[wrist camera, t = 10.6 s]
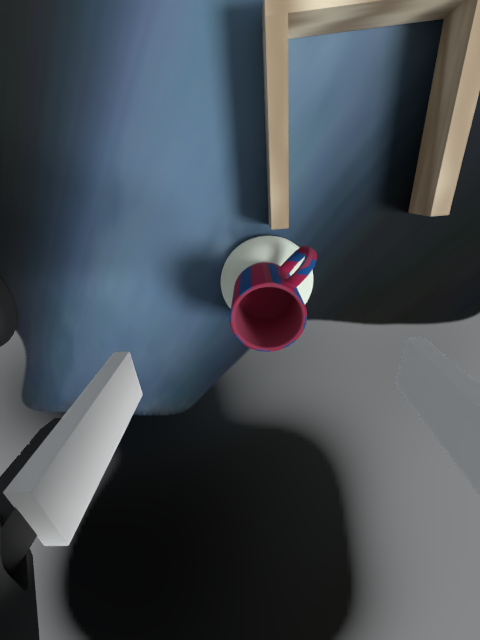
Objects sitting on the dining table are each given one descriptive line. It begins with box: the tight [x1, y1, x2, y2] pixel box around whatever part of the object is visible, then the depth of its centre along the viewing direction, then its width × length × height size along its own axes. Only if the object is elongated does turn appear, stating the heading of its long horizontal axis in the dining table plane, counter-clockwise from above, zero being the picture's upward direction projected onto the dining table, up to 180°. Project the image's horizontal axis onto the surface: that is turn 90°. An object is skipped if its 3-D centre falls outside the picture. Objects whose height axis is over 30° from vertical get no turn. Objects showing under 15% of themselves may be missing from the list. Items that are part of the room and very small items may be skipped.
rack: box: [262, 0, 480, 229], centre depth 21 cm, size 15×15×4 cm
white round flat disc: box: [221, 235, 313, 309], centre depth 29 cm, size 10×10×1 cm
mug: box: [230, 246, 317, 351], centre depth 26 cm, size 7×10×7 cm
